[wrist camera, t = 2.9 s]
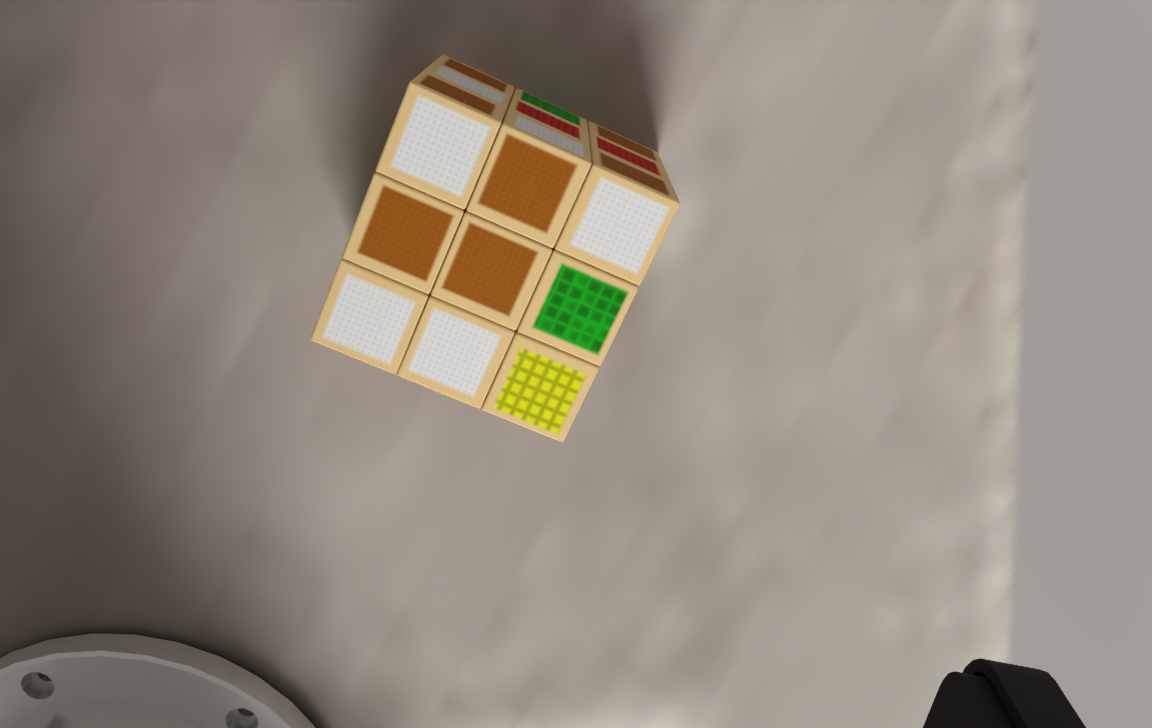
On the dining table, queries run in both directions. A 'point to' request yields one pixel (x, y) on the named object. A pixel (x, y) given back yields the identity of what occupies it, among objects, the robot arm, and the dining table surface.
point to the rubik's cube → (496, 248)
